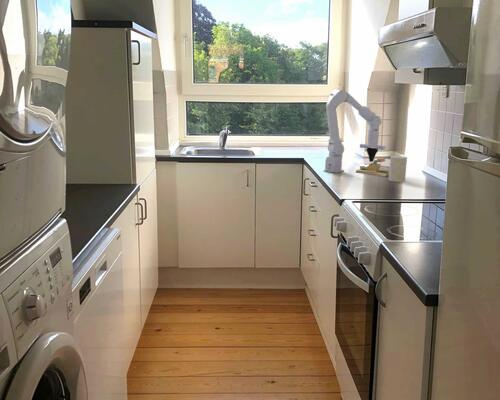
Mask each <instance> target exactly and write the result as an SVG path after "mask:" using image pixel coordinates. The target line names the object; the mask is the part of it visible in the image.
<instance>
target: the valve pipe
mask: <svg viewBox="0 0 500 400" xmlns="http://www.w3.org/2000/svg"><path fill="white" fill-rule="evenodd" d="M359 169H362V170H367V171H373V172H385V173H389V169H390V167H386V166H383V165H381V163H380V164H379V163H377V164H373V162H370V163H369V164H360V165H359Z"/></svg>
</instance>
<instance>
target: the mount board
mask: <svg viewBox="0 0 500 400" xmlns="http://www.w3.org/2000/svg"><path fill="white" fill-rule="evenodd" d="M355 173H359V174H364V175H365V174H366V175H374V176H380V177H389V173H385V172H373V171H367V170H362V169H360V168H359V169H356V170H355Z"/></svg>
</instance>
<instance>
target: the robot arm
mask: <svg viewBox="0 0 500 400" xmlns="http://www.w3.org/2000/svg"><path fill="white" fill-rule="evenodd" d="M343 103H347V104H349V105H350V106H351V107H353V108H354V109H355V110H356V111H357V113H358V115H359V116H360V117H361V118H362V119H364V120H365V121H366V122H367V124H368V129H367V143H366V144H365V143H360V144H359V148H360V149H361V148H362V149H363V148H364V149H365V151H366V152H367V155H368V161H369V162H370V163H373V161H374V160H375V157H376V155H377V153H378V151H379V150H382V151H385V150H386V145H385V146H384V145H380V144H379V134H380V126H381V125H382V118H381V117H380V116H379V115H377V113H376V112H373V110H371V109H370V107H369V106H366V105H364V106H363V105H362V104H360V103H359V102H358V101H357V100H356V99H355V98H354V96H352V95H351V94H350V93H349V92H347V90H344V89H338V88H337V89H333V90H332V91H331V92H330V93H329V94H328V99H327V102H326V104H325V110H326V118H327V126H328V132H329V133H328V134H329V139H328V145H327V151H328V152H329V153H328V156H327V157H326V158H325V164H324V165H325V166H324V170H323V172H326V173H327V172H328V173H334V172H335V173H334V174H336V173H341V172H344V171H345V170H344V169H342V165H343V163H342V162H343V161H342V160H343V159H342V158H343V154H344V151H345V147H344V145H343V141H342V140H341V137H340V130H339V129H340V128H339V121H338V115H337V113H338V112H337V108H338V107H339V106H340V105H341V104H343Z"/></svg>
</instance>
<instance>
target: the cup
mask: <svg viewBox="0 0 500 400" xmlns="http://www.w3.org/2000/svg"><path fill="white" fill-rule="evenodd" d="M407 161H408V157H407V156H400V155H391V156H390V158H389V175H388V181H390V182H396V183H403V182H406V174H407V164H408V163H407Z"/></svg>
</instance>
